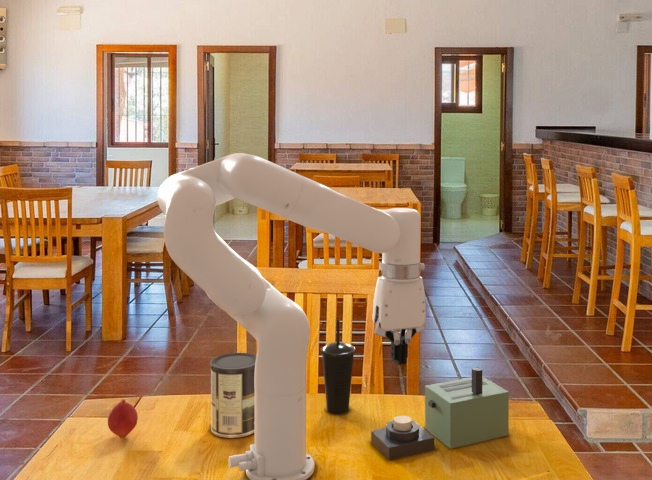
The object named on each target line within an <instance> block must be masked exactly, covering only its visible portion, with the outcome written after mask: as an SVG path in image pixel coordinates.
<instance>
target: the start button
mask: <svg viewBox="0 0 652 480" xmlns="http://www.w3.org/2000/svg"><path fill="white" fill-rule="evenodd" d="M392 420H393V428H394V429H395V430H399V431H407V430H411V428H412V421H413V420H412V417H410V416H408V415H396V416H394V417H393V419H392Z"/></svg>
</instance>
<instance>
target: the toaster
mask: <svg viewBox="0 0 652 480" xmlns="http://www.w3.org/2000/svg"><path fill="white" fill-rule="evenodd" d="M509 397H510V392H509V391H508V390H506V389H505V388H503V387H502V386H500V385H498V384H496V383H495V382H493V381H491V380H489V378H486V377H484V376H483V375H482V393H481V394H474V393H473V392H472V376H471V377H465V378H464V377H463V378H458V379H454V380H449V381H444V382H438V383H432V384H427V385H424V430H426V431H427V432H428V433H429V434H431V435H432V436H433V437H434V438H436V439H438V440H439V441H440V442H441V443H442V444H444V445H445V447H447V448H449V449H455V448H460V447H464V446H468V445H472V444H476V443H477V444H478V443H481V442H485V441H489V440H494V439H499V438H502V437H507V436H509V433H510V432H509V429H510V428H509V426H510V425H509V424H510V423H509V419H510V417H509V415H510V414H509V412H510V408H509V407H510V406H509V405H510V403H509V402H510V399H509Z"/></svg>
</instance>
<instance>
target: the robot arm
mask: <svg viewBox="0 0 652 480" xmlns="http://www.w3.org/2000/svg"><path fill="white" fill-rule="evenodd" d="M234 199H237V200H240V201H242V202H244V203H245V204H249V205H252V206H254V207H256V208H259V209H261V210H264V211H266V212H267V213H268V212H269V213H271V214H273V215H276V216H278V217H281V218H283V219H285V220H287V221H290V222H293V223H295V224H298V225H300V226H303V227H305V228H308V229H311V230H314V231H318V232H322V233H325V234H328V235H331V236H334V237H336V238H338V239H341V240H343V241H347V242H349V243H351V244H353V245H354V246H357V247H360V248H363V249H365V250H368V251H370V252H373V253H375V254H381V255H382V256H381V276H378V277H377V280H376V283H375V289H374V295H373V305H372V324H374V325H375V327H374V332H373V333H374V335H376V336H378V337H383V338H386V339H387V340H388V341H389V342H390V359H391V360H392V362H393V363H395V364H396V365H397V366H402V365H407V359H408V357H409V356H408V355H409V353H408V352H409V344H410V343H411V341H412V338H413V337H414V336H415V335H416V334H418V333H421V332H423V331H424V330H425V327H426V326H425V323H426V318H427V317H426V315H427V305H426V292H425V286H424V280H423V277H422V276H421V272H422V271H424V270H426V265H425V263H422V262H421V225H422V224H421V214H420V212H419V211H418V210H416V209H414V208H408V207H392V208H389V209H379V208H378V209H377V208H375V207H373V206H371V205H368V204H366V203H364V202H362V201H359V200H357V199H354V198H352V197H349V196H347V195H346V194H344V193H343V194H342V193H340V192H338V191H336V190H334V189H333V188H330V187H328V186H327V185H324V184H323V183H320V182H317V181H315V180H314V179H311V178H308V177H307V176H304V175H302V174H299V173H297V172H294V171H293V170H290V169H288V168H286V167H283V166H281V165H279V164H277V163H275V162H272V161H270V160H267V159H266V158H263V157H261V156H258V155H254V154H250V153H245V152H234V153H231V154H228V155H225V156H222V157H219V158H216V159H213V160H211V161H209V162H205V163H202V164H200V165H197V166H194V167H191V168H189V169H185V170H183V171H180V172H177V173H174V174H172V175H170V176H168V177H167V178H166V179H165V180H164V181H163V182H162V184H161V185H160V186H159V189H158V192H157V204H158V206H159V209H160V210H161V212H162V213H163V214H164V215H165V218H164V221H163V238H164V245H165V247H166V251H167V253H168V255H169V256H170V258H171V260H172V261H173V262H174V264H175V265H176V266H177V267H178V268H179V269H180V270H181V271H182V272H183V273H184V274H185V275H187V277H189V279H190V280H192V281H193V282H194V283H195V284H196V285H197V286H198V287H199V288H200V289H201V290H202V291H204V292H205V294H206V296H207V297H208V298H209V299H210V300H211V302H213V303H214V304H215V305H216V306H217V307H218V308H219V309H220V310H222V311H224V312H225V314H227V315H228V316H229V317H231V318H232V319H233V320H234V321H235V322H236V323H238V325H240V326H241V327H242V328H243V329H245V331H247V332H248V333H249V335H251V336H252V337H253V338H254V339H255V340H256V344H257V352H256V362H255V372H254V396H255V432H254V443H251V444H249V450H245V451H244V453H241V454H234V455H229V456H228V461H227V463H228V467H229V468H230V469H232V468H236V467H238V470H239V472H243V471H245V474H246V477H247V478H248V479H249V480H308V479H309V478H310V477H311V476H312V475H313V474H314V472H315V465H316V464H315V459H314V458H313V456H311V455H310V454H309V453H307V361H308V360H307V359H308V351H309V345H310V339H311V327H310V326H311V325H310V321H309V319H308V316H307V314H306V312H305V311H304V310H303V308H302V307H301V306H300V305H299V304H297V303H296V302H295V301H294V300H292V299H291V298H289V297H287V296H286V295H285V294H283V293H281V292H280V291H279V290H278V289H276V287H274V286H273V285H272V284H271V283H270V282H269V281H268V280H266V279H265V278H264V277H263V276H262V273H260V271H259V269H258V268H257V267H255V265H253V264H252V263H251V262H249V261H248V260H247V259H245V258H243V257H241V255H239V254H238V252H236V251H235V250H234V249H233V248H231V247H230V245H229V244H227V242H225V240H224V239H223V238H221V237H220V236H219V234H218V233H217V232H216V229H215V227H214V215H215V211H216V210H215V209H216V207H217V206H220V205H223V204H225V203H227V202H230V201H232V200H234Z"/></svg>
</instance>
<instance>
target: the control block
mask: <svg viewBox="0 0 652 480" xmlns="http://www.w3.org/2000/svg"><path fill="white" fill-rule="evenodd" d="M370 443H371V444H372V445H373V446H374V447H375V448H376V449H377V450H378V451H379V452H380V453H381V454H382V455H384V456H385V458H386V459H388V461H391V460H396V459H399V458H400V459H401V458H404V457H408V456H413V455H417V454H422V453H426V452H430V451H434V450H435V436H434V435H433V434H431V433H430V432H429V431H428V430H426V429H425V428H423V427H422V426H421V425H420V424H418V422H416V421H415V420H412V428H411V430H407V431H399V430H395V429H394V428H393V419H392V420H389V421H388V422H387V423H385V427H383V428H382V427H381V428H378V429H372V430H371V431H370Z"/></svg>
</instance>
